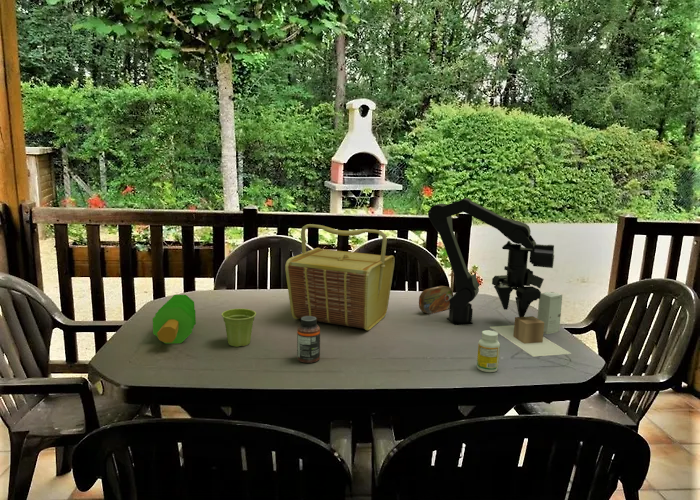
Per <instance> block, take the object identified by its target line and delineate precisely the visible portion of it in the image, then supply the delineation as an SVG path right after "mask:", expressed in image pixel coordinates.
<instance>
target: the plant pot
mask: <svg viewBox="0 0 700 500" xmlns="http://www.w3.org/2000/svg"><path fill="white" fill-rule="evenodd" d="M256 316H257V312H256V311H255V310H253V309H249V308H233V309H232V308H231V309H228V310H224V311H222V313H221V317H222V319H223V322H224V325H225V326H224V327H225V333H226V339H227V343H228V345H229V346H231V347H237V348H238V347H241V346H243V347H246V346H248V345H250V344H251V340H252V331H253V326H254V325H253V324H254V320H255V317H256Z"/></svg>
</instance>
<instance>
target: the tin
mask: <svg viewBox="0 0 700 500" xmlns="http://www.w3.org/2000/svg"><path fill="white" fill-rule="evenodd" d="M453 295H454V293H453V290H452V288H451V287H449V286H445V285H439V286H434V287H430V288H426V289H424V290H422V291H421V293H420V295H419V298H418V307H419V309H420V311H422V312H423V313H426V314H428V315H432V314H436V313H440V312H443V311H444V312H445V311H447V310H449V308H450V301H449V300H450V298H451V297H452V296H453Z"/></svg>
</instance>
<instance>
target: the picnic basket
mask: <svg viewBox="0 0 700 500" xmlns="http://www.w3.org/2000/svg"><path fill="white" fill-rule="evenodd" d="M308 228H315V229H321V230H323V231H325V232H327V233H330V234H333V235H337V236H342V237H343V236H345V237H346V236H347V237H348V236H359V235H362V234H365V233H370V234H371V233H372V234H379V235H380V236H381V237H382V242H381V250H380V251H381V252H380V254H374V253H366V252H365V253H363V252H355V251H345V250H344V251H343V250H336V249H335V250H334V249H327V248H320V247H316V248H312V249H311V250H308V251H307V244H306V230H307V229H308ZM300 238H301V239H300V240H301V253H300V254H297V255H295V256H291V257H289V258H288V259H287V260H286V262H285V266H284V268H285V276H286V283H287V284H286V285H287V292H288V299H289V300H288V301H289V305H290V306H289V307H290V313H291V316H292V318H293V319H295V320H299V319H300V320H301V318H302V317H304V316H313V317H316V319H317V320H316V321H317V322H319V323H325V324H332V325H338V326H339V325H340V326H344V327H351V328H358V329H363V330H365V331H371V329H372V328H374V327H375V326H376V325H377V324H378V323H379V322H381V321H382V320H383V319H384V318H385V316H386V315H387V311H388V309H389V301H390V295H391V287H392V283H393V276H394V270H395V259H396V258H395V256H394V255H392V254H391V255H386V251H387V242H388V239H387V235H386V233H384V232H383V231H382V230H378V229H369V228H363V229H353V230H341V229H335V228H332V227H329V226H325V225H323V224H322V225H321V224H314V223H312V224H311V223H309V224H305V225H304V226H302V227H301V231H300Z"/></svg>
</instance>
